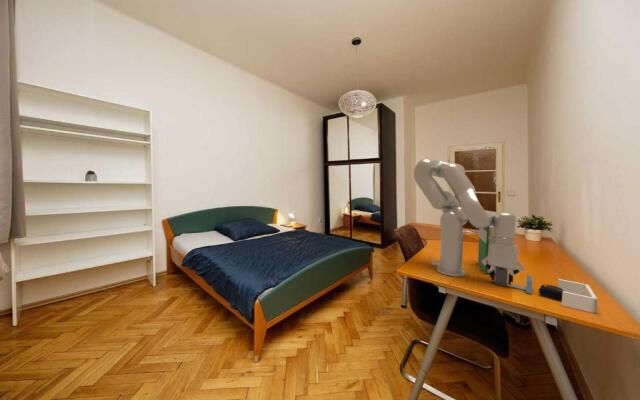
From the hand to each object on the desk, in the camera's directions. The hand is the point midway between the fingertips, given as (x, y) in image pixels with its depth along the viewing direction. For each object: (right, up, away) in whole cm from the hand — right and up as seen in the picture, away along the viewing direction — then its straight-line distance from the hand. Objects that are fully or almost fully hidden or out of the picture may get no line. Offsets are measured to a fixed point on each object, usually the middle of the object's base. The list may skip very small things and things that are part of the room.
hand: (501, 281), depth 101 cm
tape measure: (+11, -3, -12) cm, 16 cm away
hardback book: (+8, -1, +18) cm, 20 cm away
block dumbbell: (+3, -1, -3) cm, 4 cm away
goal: (+16, -2, -15) cm, 22 cm away
